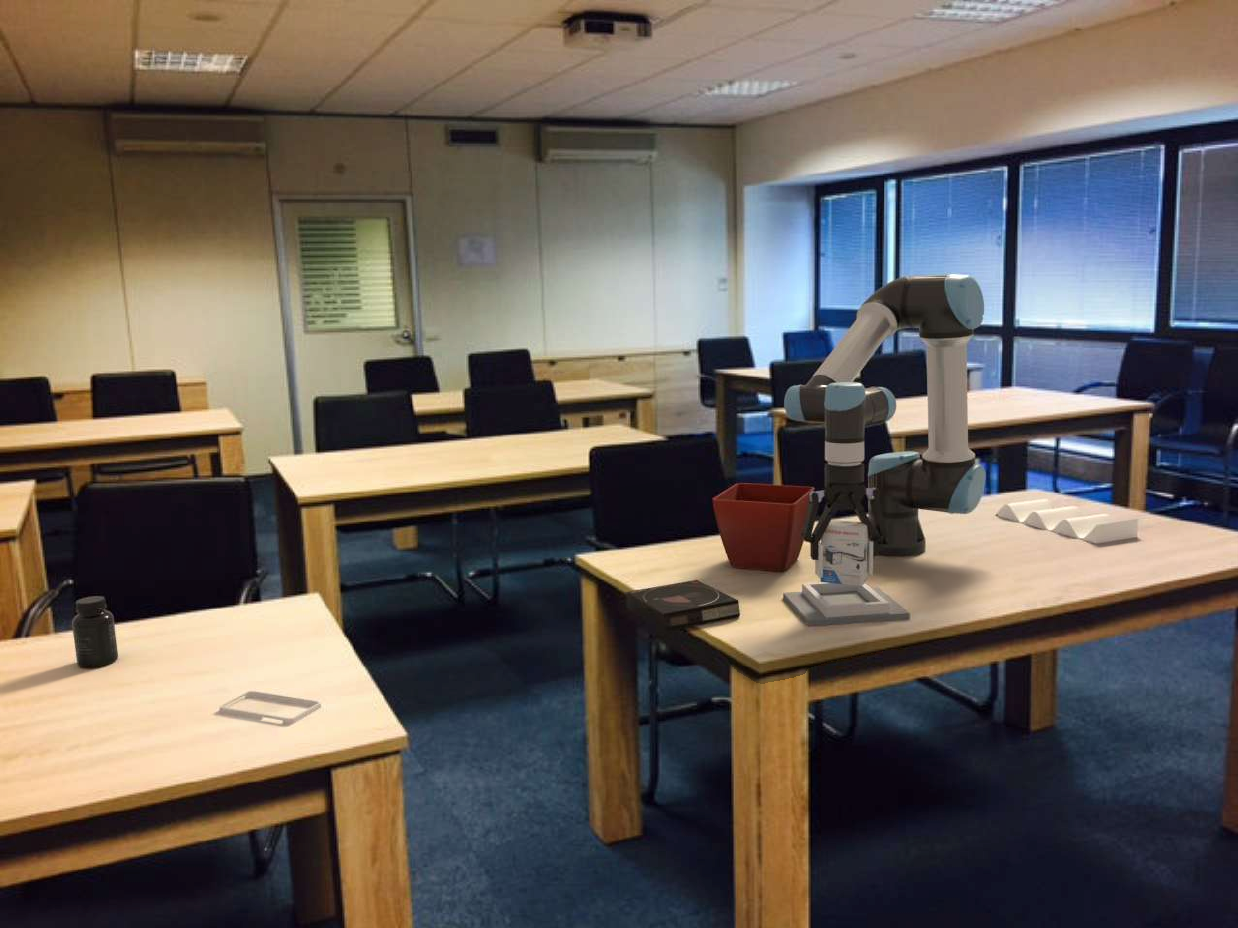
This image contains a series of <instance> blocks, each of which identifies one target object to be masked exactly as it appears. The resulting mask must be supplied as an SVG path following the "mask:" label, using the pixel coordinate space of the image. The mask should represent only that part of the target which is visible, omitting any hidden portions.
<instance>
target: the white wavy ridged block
mask: <svg viewBox="0 0 1238 928" xmlns="http://www.w3.org/2000/svg"><path fill="white" fill-rule="evenodd" d="M995 516H996V517H1000V518H1003V519H1007V520H1010V521H1014V522H1016V523H1017V522H1018V523H1021V524H1024V525H1028V526H1031V527H1036V528H1039V529H1043V530H1047V531H1050V532H1053V533H1056V534H1060V535H1064V536H1067V537H1070V538H1075V539H1078V540H1081V541H1086V542H1089V543H1092V544H1102V543H1108V542H1113V541H1120V540H1126V539H1133V538H1134V539H1135V538H1137V537H1138V530H1139V519H1138V518H1135V519H1127V520H1121V521H1113V519H1112V517H1111V516H1110V515H1109V514H1108V513H1101V514H1095V515H1088V516H1083V514H1082V512H1081V511H1080V509H1079V508H1078V507H1077V506H1076V505H1075V506H1066V507H1065V506H1064V507H1059V508H1054V507H1053V505H1052V504H1051V502H1050V501H1049V500H1048V499H1047V498H1043V499H1036V500H1029V501H1021V502H1014V503H1008V504H1007V503H1006V504H1003V506H1001V507H1000V509H999V510H998V512H997V513H996V514H995Z"/></svg>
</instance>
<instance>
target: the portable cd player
mask: <svg viewBox="0 0 1238 928" xmlns="http://www.w3.org/2000/svg"><path fill="white" fill-rule="evenodd" d="M625 593H626V595H625V596H626V597H625V598H626V599H625V600H626V609H627V610H628V611H630V612H632V613H633V614H635V615H637V616H638V617H640V618H642V619H643V620H644V621H646V622H648V623H649V624H651V625H653V626H654V627H655V628H658V629H659V630H661V631H663V632H665V633H666V632H672V631H677V630H681V629H687V628H692V627H698V626H703V625H708V624H713V623H718V622H723V621H729V620H734V619H739V618H740V615H741V612H740V611H741V610H740V606H739V604H740V603H739V599H737V598H735V597H733V596H731V595H729V594H727V593H725V592H723V591H720V589H719V590H718V589H717V588H715V587H713V586H710V585H709V584H706V583H705V582H702V581H700V580H698V579H693V580H688V581H683V582H675V583H670V584H664V585H658V586H653V587H647V588H641V589H636V590H635V589H634V590H632V591H631V590H628V591H626V592H625Z"/></svg>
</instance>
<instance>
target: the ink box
mask: <svg viewBox="0 0 1238 928" xmlns="http://www.w3.org/2000/svg"><path fill="white" fill-rule="evenodd" d="M820 543H821V544H822V545H823V577H819V578H820V579H819V582H826V583H835V584H846V585H856V586H862V585H864V584H865V583H866V584H867V581H868V575H869V573H868V530H867V525H866V524H864V523H862V522H861V521H850V520H836V519H831V521H830V523H829V525H828V527H827V528H826V530H825V532H824V534H823V536H822V538H821V540H820Z"/></svg>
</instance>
